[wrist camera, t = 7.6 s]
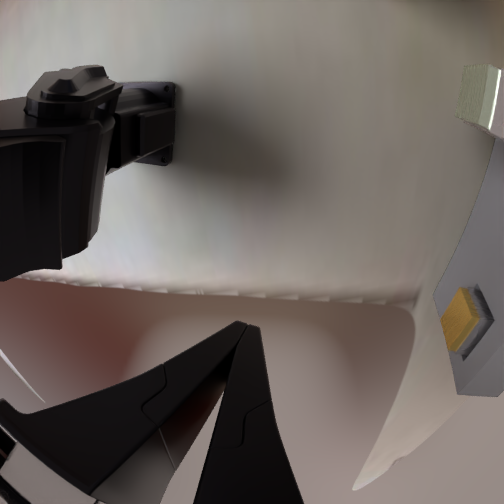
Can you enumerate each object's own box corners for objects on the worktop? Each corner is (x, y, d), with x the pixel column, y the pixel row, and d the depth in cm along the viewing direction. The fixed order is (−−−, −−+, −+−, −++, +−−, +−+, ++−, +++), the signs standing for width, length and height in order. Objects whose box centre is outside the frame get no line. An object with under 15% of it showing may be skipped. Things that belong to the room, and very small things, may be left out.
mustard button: (439, 319, 17) (447, 352, 14) (459, 284, 15) (473, 316, 13) (509, 334, 16) (520, 363, 13) (530, 305, 14) (544, 333, 11)
